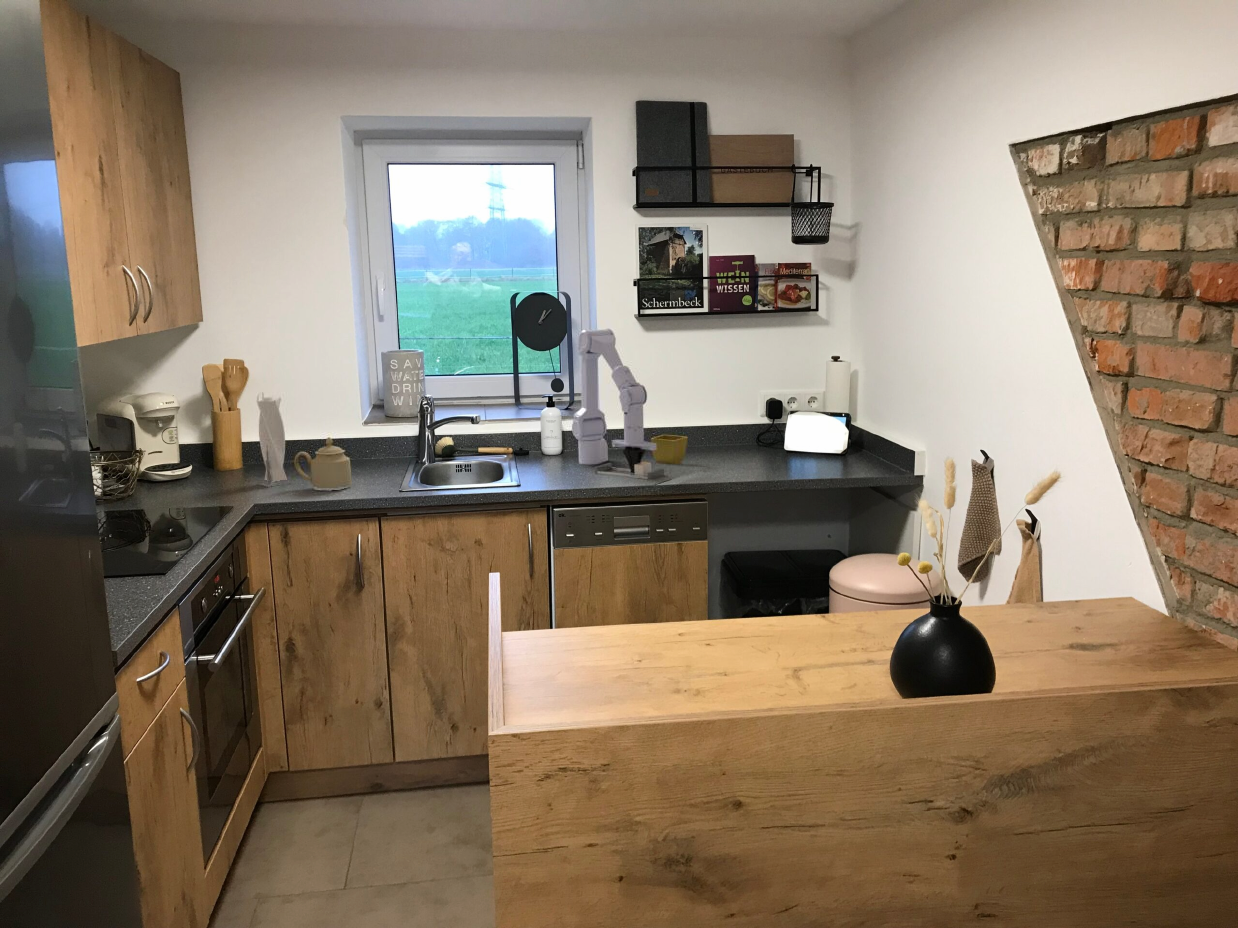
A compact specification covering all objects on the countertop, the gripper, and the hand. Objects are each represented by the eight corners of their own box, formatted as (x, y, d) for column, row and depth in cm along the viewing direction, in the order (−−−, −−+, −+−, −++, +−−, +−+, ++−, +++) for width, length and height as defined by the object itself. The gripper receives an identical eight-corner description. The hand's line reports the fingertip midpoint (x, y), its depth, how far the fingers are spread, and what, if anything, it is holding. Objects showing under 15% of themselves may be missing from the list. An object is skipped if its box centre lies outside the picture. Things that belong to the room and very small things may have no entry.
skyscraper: (255, 485, 292) (247, 392, 287) (280, 480, 298) (272, 390, 293) (269, 488, 287) (261, 394, 281) (294, 484, 292) (286, 391, 287)
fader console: (605, 472, 298) (605, 462, 297) (671, 479, 284) (671, 469, 283) (587, 477, 290) (587, 466, 290) (654, 485, 277) (654, 474, 276)
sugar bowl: (303, 494, 275) (299, 442, 272) (295, 488, 284) (291, 437, 282) (356, 488, 282) (352, 437, 279) (346, 482, 291) (343, 433, 289)
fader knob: (643, 473, 287) (642, 461, 286) (651, 474, 285) (651, 462, 284) (634, 476, 283) (634, 464, 282) (643, 477, 281) (642, 464, 281)
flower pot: (688, 464, 308) (688, 436, 306) (675, 468, 301) (674, 440, 299) (664, 462, 313) (664, 434, 311) (650, 466, 306) (650, 438, 304)
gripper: (605, 427, 284) (606, 472, 286) (646, 430, 276) (647, 477, 278) (619, 424, 290) (620, 468, 292) (660, 427, 281) (660, 472, 284)
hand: (634, 472), depth 286 cm, fingers closed
